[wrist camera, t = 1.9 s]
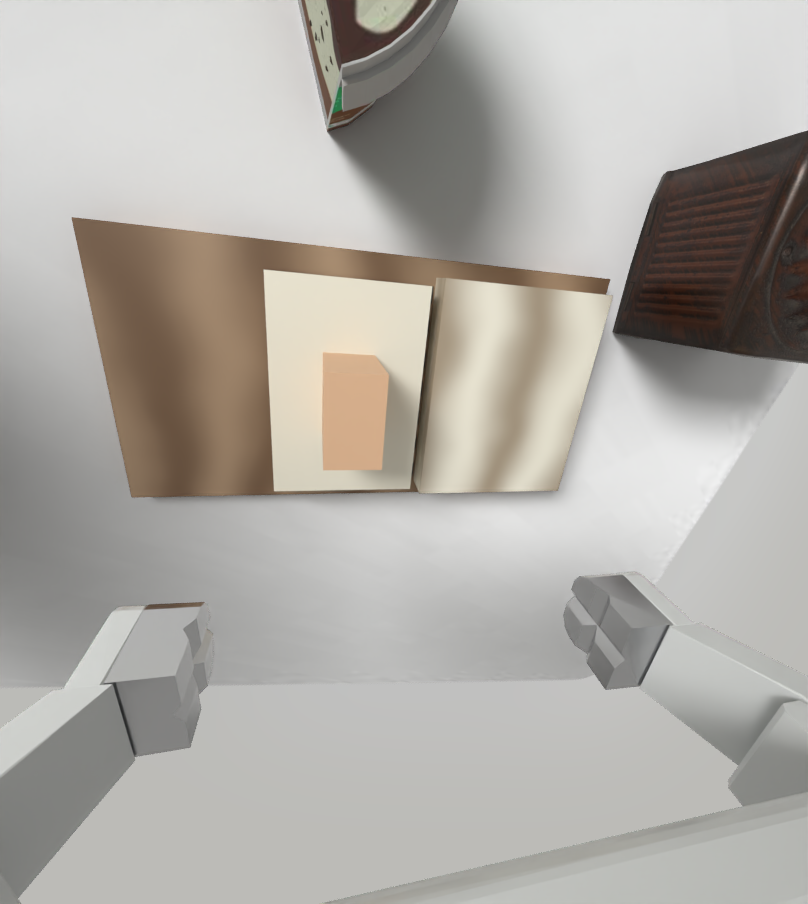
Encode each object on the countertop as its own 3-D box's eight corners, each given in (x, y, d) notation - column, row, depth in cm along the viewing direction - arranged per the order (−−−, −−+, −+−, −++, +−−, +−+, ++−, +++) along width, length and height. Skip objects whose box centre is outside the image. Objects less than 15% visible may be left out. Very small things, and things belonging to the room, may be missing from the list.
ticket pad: (140, 486, 27) (118, 514, 24) (87, 220, 21) (46, 211, 18) (543, 480, 34) (565, 501, 31) (595, 279, 27) (631, 279, 24)
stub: (276, 477, 27) (264, 538, 21) (268, 269, 22) (247, 268, 15) (404, 475, 29) (428, 531, 23) (423, 285, 24) (461, 289, 17)
